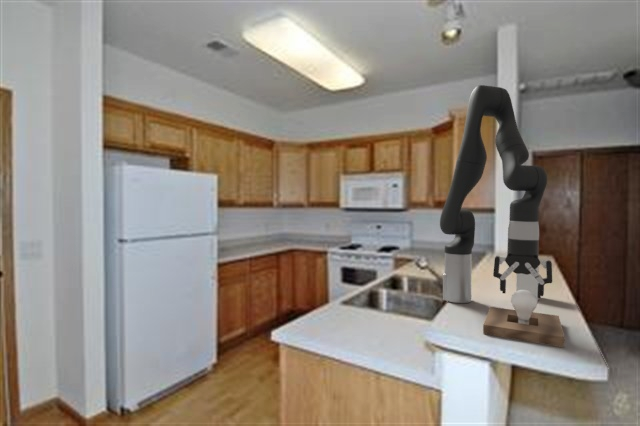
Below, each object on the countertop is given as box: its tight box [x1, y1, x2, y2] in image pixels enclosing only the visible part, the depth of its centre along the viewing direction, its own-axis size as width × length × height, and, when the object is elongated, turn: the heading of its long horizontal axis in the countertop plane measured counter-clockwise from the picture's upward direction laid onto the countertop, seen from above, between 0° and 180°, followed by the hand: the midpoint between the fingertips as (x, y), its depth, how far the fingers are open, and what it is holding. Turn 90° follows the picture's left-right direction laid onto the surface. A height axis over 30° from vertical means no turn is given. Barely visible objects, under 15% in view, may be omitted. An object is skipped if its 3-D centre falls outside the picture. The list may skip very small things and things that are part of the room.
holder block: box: [482, 306, 565, 348], centre depth 100 cm, size 18×20×2 cm
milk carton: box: [515, 256, 540, 301], centre depth 135 cm, size 7×7×19 cm
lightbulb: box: [510, 290, 538, 325], centre depth 100 cm, size 6×6×11 cm
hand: (521, 295), depth 100 cm, fingers open, 8 cm apart
